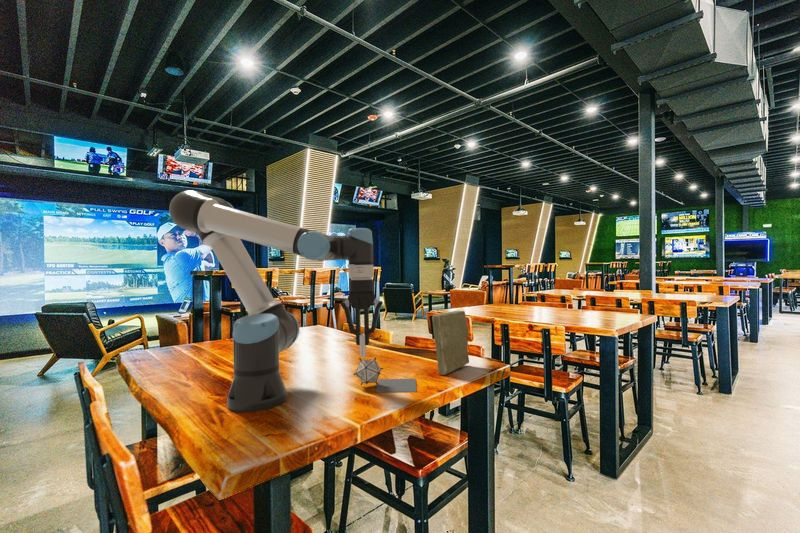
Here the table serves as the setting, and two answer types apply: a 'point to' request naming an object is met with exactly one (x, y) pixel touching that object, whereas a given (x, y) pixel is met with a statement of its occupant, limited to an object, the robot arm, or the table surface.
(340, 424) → the table surface
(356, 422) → the table surface
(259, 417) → the table surface
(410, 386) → the mat
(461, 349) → the decorative tile
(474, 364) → the table surface
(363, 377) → the game die
